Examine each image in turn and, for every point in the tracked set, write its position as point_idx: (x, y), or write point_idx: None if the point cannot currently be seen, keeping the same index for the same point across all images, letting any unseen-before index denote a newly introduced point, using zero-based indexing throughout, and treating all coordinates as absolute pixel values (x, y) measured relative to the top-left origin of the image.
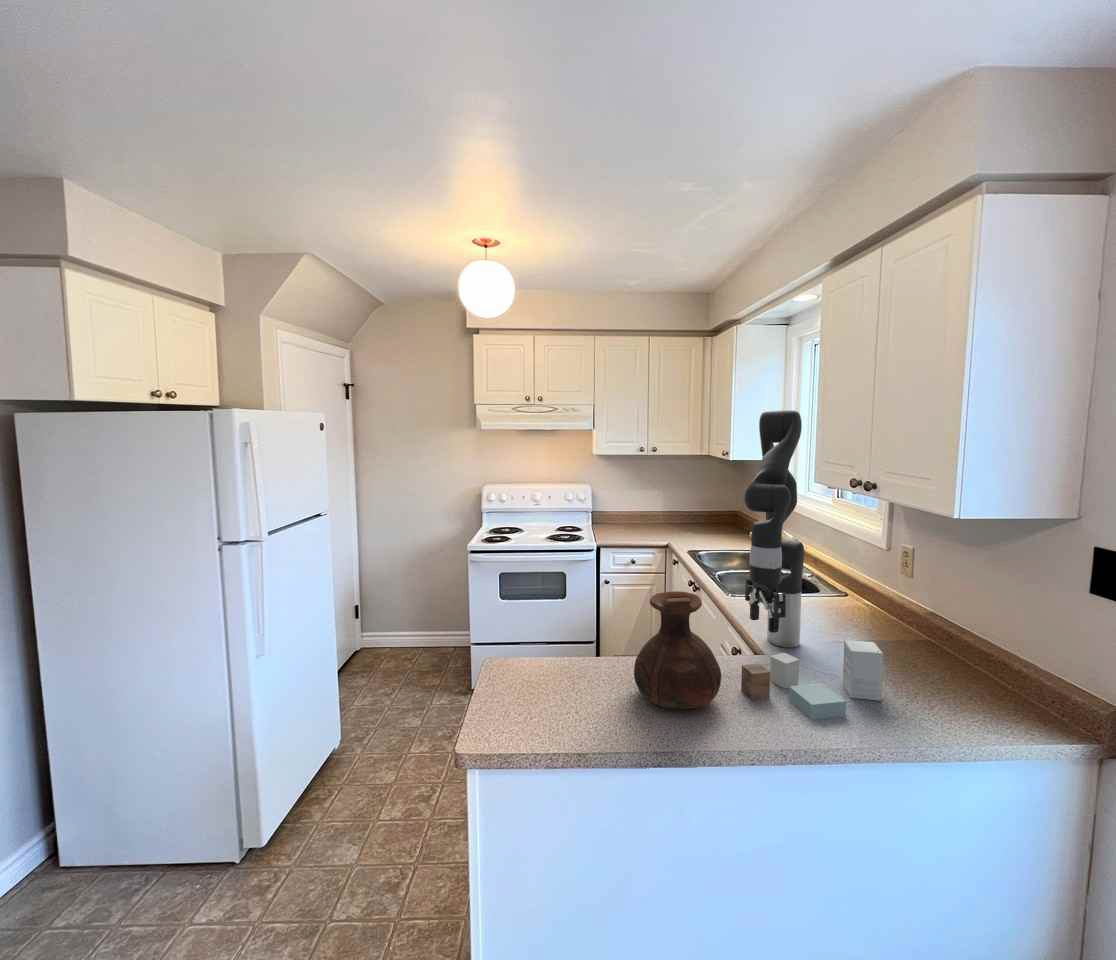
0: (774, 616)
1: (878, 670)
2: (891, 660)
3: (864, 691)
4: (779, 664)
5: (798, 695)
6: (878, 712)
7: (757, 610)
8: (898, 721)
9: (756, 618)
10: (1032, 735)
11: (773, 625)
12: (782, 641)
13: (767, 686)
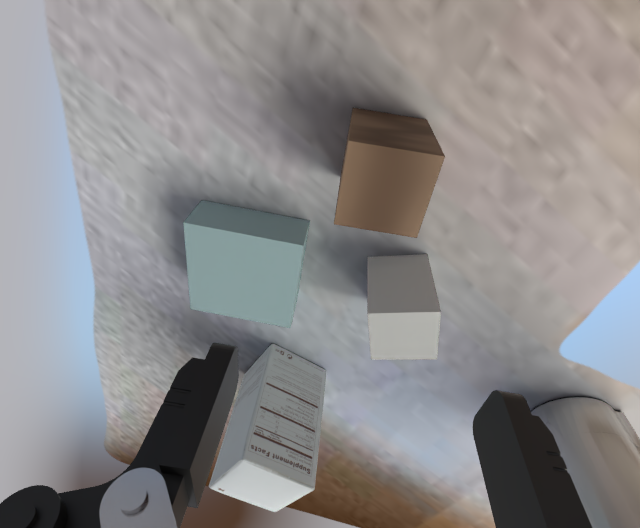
0: (25, 505)
1: (226, 436)
2: (368, 477)
3: (253, 373)
4: (396, 302)
5: (253, 232)
6: (207, 342)
7: (498, 502)
8: (171, 344)
9: (482, 423)
10: (121, 436)
11: (166, 403)
12: (557, 416)
13: (339, 187)
